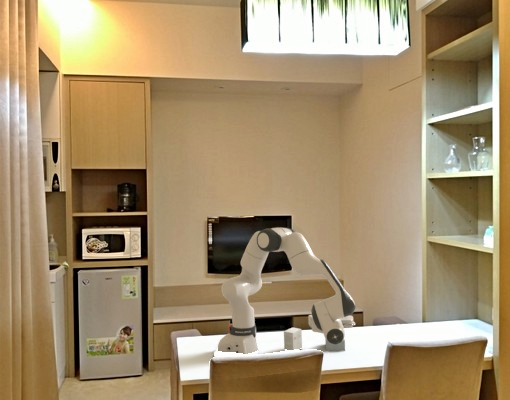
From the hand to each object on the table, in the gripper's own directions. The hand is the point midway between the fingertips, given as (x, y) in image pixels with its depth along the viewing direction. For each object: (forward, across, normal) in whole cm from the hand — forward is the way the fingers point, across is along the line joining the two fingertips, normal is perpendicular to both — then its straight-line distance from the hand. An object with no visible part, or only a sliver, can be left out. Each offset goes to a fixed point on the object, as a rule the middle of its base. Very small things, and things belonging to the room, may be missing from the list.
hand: (329, 315), depth 217 cm
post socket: (+16, -4, +21) cm, 27 cm away
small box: (+11, +17, +22) cm, 30 cm away
